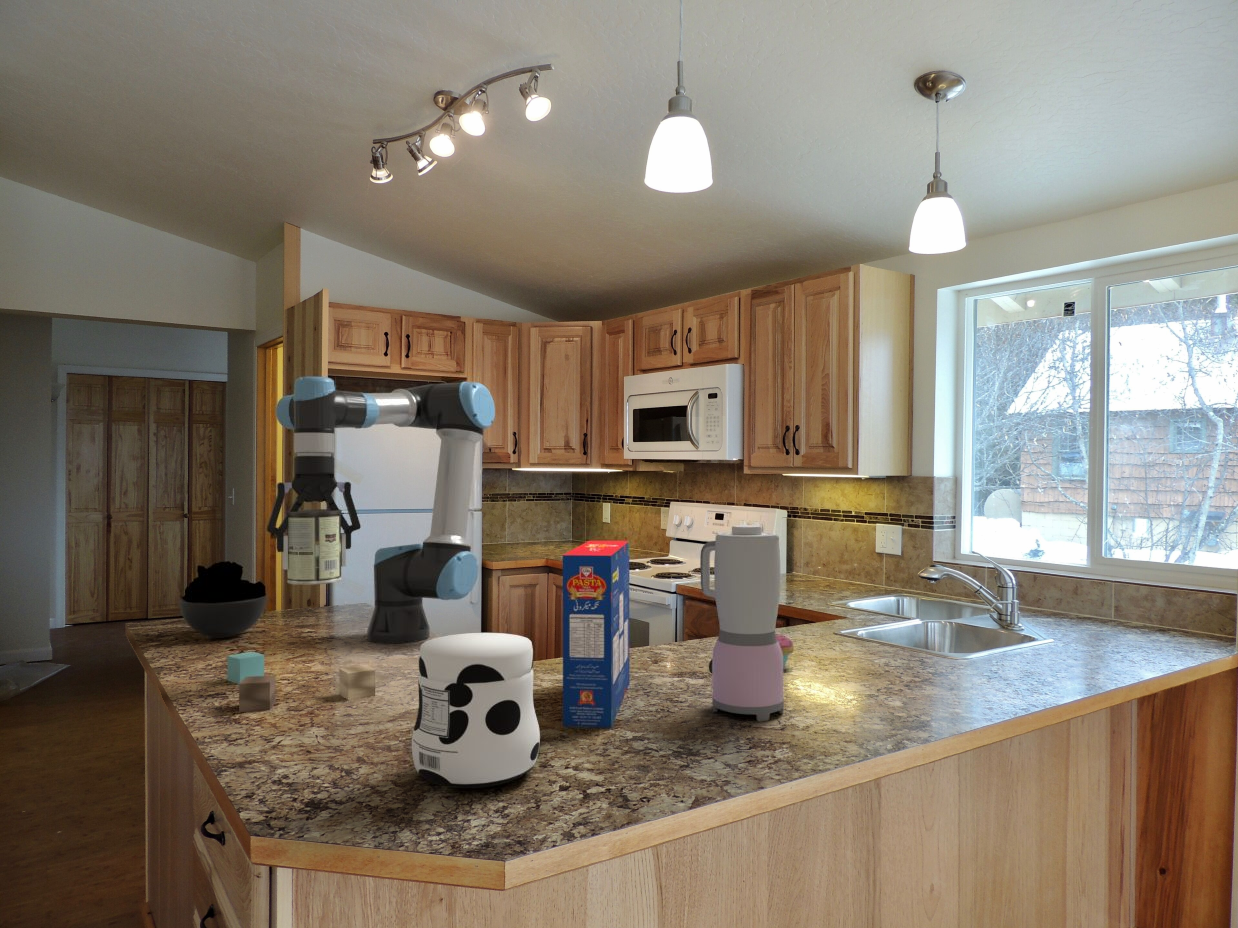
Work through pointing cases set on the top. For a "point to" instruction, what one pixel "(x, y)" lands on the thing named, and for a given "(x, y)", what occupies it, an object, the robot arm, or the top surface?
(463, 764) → the milk container
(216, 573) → the bowl of black rocks
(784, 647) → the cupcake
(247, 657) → the teal cube
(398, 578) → the robot arm
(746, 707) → the blender
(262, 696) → the walnut cube
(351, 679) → the oak cube
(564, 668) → the pasta box
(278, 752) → the top surface
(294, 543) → the coffee can
